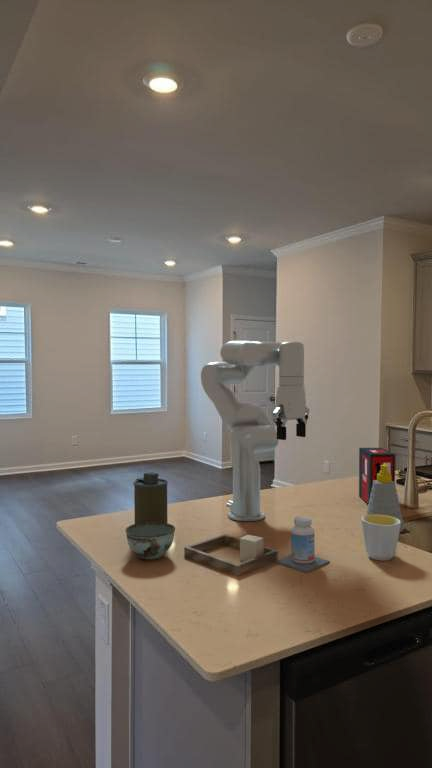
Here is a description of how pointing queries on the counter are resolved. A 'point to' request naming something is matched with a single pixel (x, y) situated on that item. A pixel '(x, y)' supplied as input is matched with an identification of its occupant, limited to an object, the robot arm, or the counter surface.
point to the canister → (150, 499)
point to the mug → (380, 536)
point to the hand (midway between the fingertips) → (291, 438)
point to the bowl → (150, 539)
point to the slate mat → (303, 567)
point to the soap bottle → (384, 497)
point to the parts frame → (236, 569)
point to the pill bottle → (302, 540)
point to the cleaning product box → (373, 468)
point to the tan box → (251, 547)
